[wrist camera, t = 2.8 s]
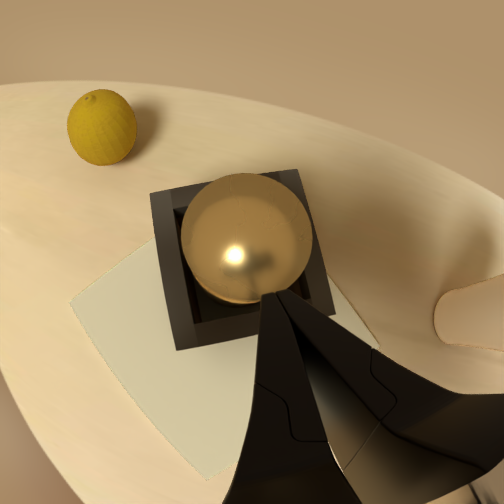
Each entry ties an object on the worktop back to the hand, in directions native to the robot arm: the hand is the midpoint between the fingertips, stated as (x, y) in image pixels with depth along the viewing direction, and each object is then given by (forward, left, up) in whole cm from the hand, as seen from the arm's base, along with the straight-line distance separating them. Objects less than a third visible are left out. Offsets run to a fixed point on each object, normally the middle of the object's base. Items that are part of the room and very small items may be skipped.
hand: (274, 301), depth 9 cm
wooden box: (+3, -1, -14) cm, 14 cm away
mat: (0, +2, -14) cm, 14 cm away
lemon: (+18, +1, -14) cm, 22 cm away
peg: (+3, -1, -10) cm, 11 cm away
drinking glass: (-13, -15, -14) cm, 25 cm away
